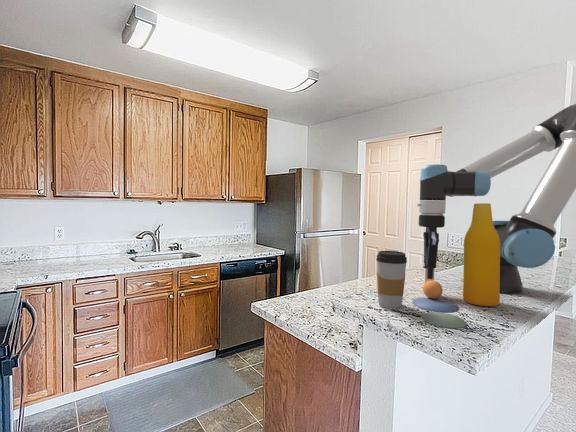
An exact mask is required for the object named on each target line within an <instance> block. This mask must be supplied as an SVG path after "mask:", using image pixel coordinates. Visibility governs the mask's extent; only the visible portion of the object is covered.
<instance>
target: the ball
mask: <svg viewBox="0 0 576 432" xmlns="http://www.w3.org/2000/svg"><path fill="white" fill-rule="evenodd" d="M443 291H444V290H443V286H442V285H441V283H440V282H438V281H436V280H434V281H433V280H430V281H427V282H426V283H425V284H424V283H423V285H422V292H423V294H424V295H425V296H426V298H431V299H440V297H441V296H442V294H443Z"/></svg>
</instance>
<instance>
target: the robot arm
mask: <svg viewBox="0 0 576 432" xmlns="http://www.w3.org/2000/svg"><path fill="white" fill-rule="evenodd" d="M556 149H557V151H556V153H555V154H554V156H553V158H552V159H551V161H550V163H549V165H548V166H547V168H546V170H545V171H544V173H543V175H542V176H541V178H540V179H539V181H538V183H537V185H536V187H535V188H534V190H533V191H532V194H531V195H530V197H529V198H528V200H527V202H526V203H525V205H524V207H523V208H522V210H521V212H519V213H516V214H513V215H511V217H510V219H509V220H493V225H494V228H495V230H496V231H497V233H498V236H499V239H500V294H501V293H502V294H504V293H505V294H518V293H522V292H523V287H524V285H523V282H522V279H521V278H522V277H521V275H520V271H519V269H518V267H520V268H526V269H534V268H539V267H541V266H544V265H545V264H547V263H549V261H550V260H551V259H552V258H553V257H554V254H555V251H556V245H555V240H554V238H555V236H556V234H557V230H556V229H555V224H556V222H557V220H558V219H559V217H560V215H561V214H562V212H563V210H564V209H565V207H566V205H568V202H569V201H570V199H571V197H572V195H573V194H574V192H575V191H576V103H574V104H572V105H569V106H567V107H565V108H563V109H561V110H560V111H558V112H557V113H555V114H554V115H552V116H550V117H548V118H547V119H545V120H544V121H542V122H540V123H539V124H537V125H535V126H534V127H532V129H531V130H530V132H528V133H526V134H525V135H523V136H521V137H519V138H517V139H515V140H514V141H511V142H509V143H508V144H506V145H504V146H502V147H500V148H499V149H496V150H494V151H492V152H491V153H489V154H487V155H485V156H483V157H480V158H479V159H477V160H475V161H474V162H472V163H470V164H468V165H466V166H464V167H462V168H461V169H459V170H457V171H451V170H450V171H449V169H448V166H447V165H445V164H425V165H423V166H422V167H421V169H420V179H419V182H420V183H419V203H417V207H419V209H418V210H419V211H418V212H419V215H418V226H419V227H423V228H425V231H423V235H422V236H423V264H424V265H423V269H424V271H423V273H424V276H423V277H424V279H423V285H424V284H425V283H426V282H427V281H430V280H433V281H435V269H437V261H438V260H437V259H438V249H439V242H440V238H439V237H440V234H439V233H438V229H439V228H444V227H445V224H446V216H445V215H444V214H446V205H447V201H446V200H447V197H450V198H451V197H484V196H486V195H488V194H489V192H490V190H491V184H492V180H491V179H492V178H494V177H495V176H498V175H500V174H502V173H504V172H506V171H508V170H510V169H512V168H515V166H518V165H520V164H521V163H523V162H525V161H527V160H530V159H531V158H533V157H535V156H537V155H539V154H542V153H543V152H548V153H549V152H550V153H551V152H552V151H554V150H556Z"/></svg>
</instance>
